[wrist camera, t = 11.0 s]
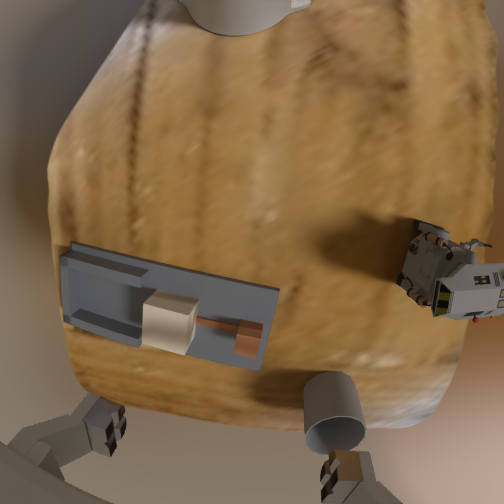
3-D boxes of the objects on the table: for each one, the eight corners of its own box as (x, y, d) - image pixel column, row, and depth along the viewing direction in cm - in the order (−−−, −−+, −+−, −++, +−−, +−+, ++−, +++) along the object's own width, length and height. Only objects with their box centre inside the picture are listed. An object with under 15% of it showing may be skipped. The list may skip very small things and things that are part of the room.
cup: (339, 414, 47) (346, 458, 37) (294, 403, 47) (294, 449, 37) (364, 377, 44) (377, 421, 35) (316, 364, 44) (322, 410, 35)
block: (157, 288, 42) (143, 303, 38) (265, 314, 42) (263, 332, 37) (155, 325, 44) (141, 343, 39) (256, 351, 43) (253, 371, 39)
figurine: (451, 295, 39) (504, 345, 25) (385, 279, 40) (427, 334, 25) (471, 235, 37) (536, 267, 22) (405, 213, 37) (462, 240, 23)
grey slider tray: (75, 241, 43) (60, 248, 39) (279, 288, 42) (278, 301, 38) (77, 316, 47) (64, 326, 43) (260, 367, 45) (257, 383, 41)
